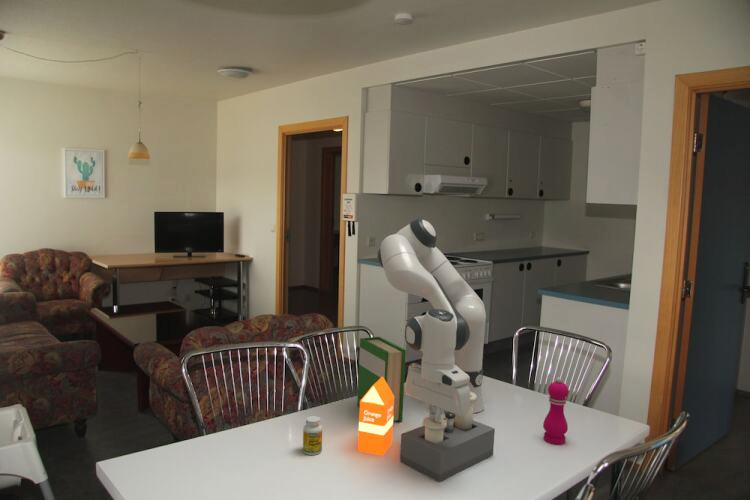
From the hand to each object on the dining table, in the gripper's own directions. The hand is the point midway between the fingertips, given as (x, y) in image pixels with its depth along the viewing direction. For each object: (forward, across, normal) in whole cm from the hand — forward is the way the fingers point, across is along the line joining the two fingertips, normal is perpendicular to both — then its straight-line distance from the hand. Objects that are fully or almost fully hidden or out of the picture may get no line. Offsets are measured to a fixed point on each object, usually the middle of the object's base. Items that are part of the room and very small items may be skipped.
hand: (434, 420), depth 153 cm
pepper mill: (+13, +13, +42) cm, 46 cm away
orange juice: (+13, -18, -4) cm, 23 cm away
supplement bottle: (+13, -27, -20) cm, 36 cm away
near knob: (+10, 0, 0) cm, 10 cm away
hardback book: (+13, -35, +14) cm, 40 cm away
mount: (+13, 0, +6) cm, 14 cm away
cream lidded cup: (+6, 0, +13) cm, 14 cm away
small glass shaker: (+5, 0, +6) cm, 8 cm away
